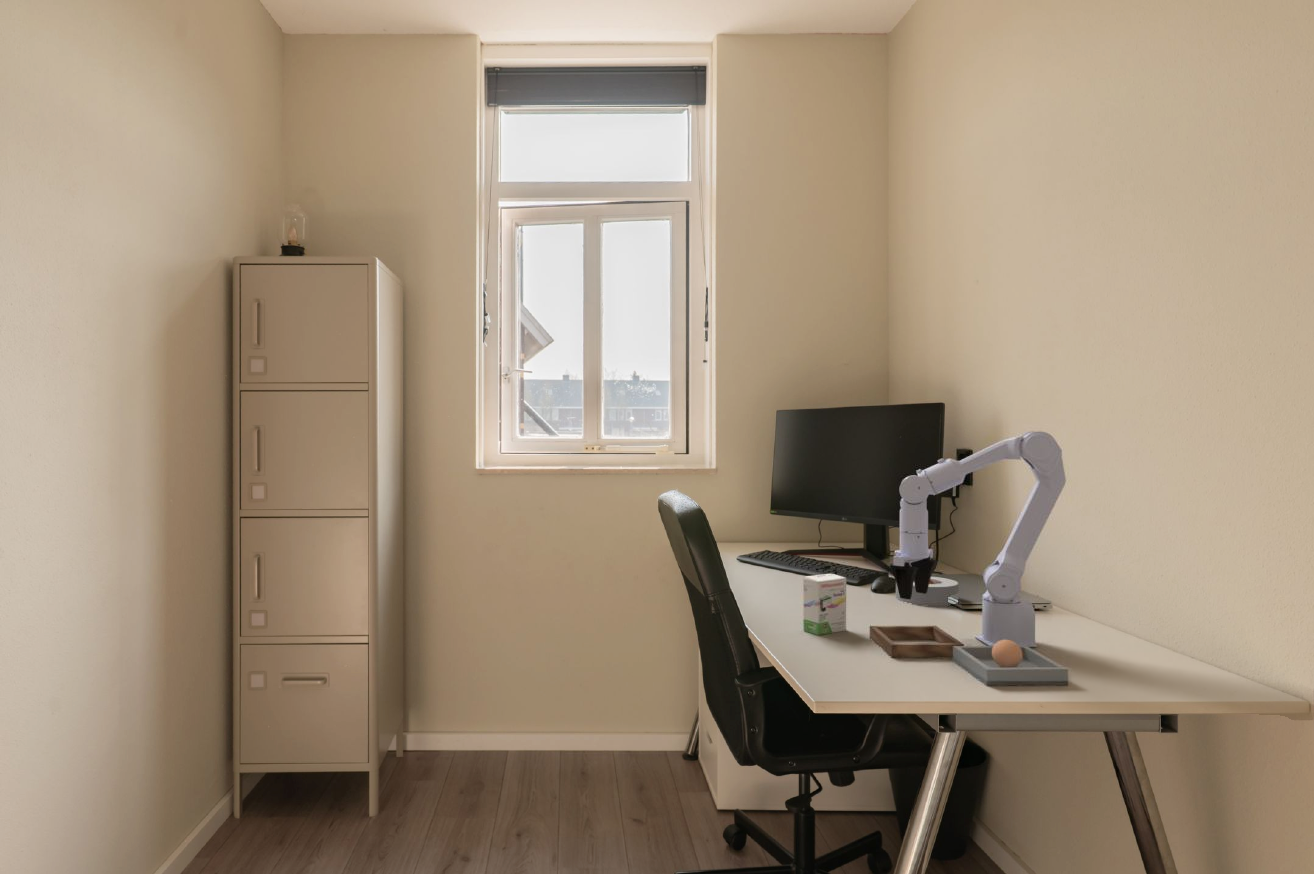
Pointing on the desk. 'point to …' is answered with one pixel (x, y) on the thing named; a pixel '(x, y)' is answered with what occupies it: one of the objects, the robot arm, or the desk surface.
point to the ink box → (824, 603)
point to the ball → (1007, 654)
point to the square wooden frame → (940, 649)
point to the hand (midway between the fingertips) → (913, 595)
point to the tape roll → (933, 593)
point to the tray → (1026, 673)
